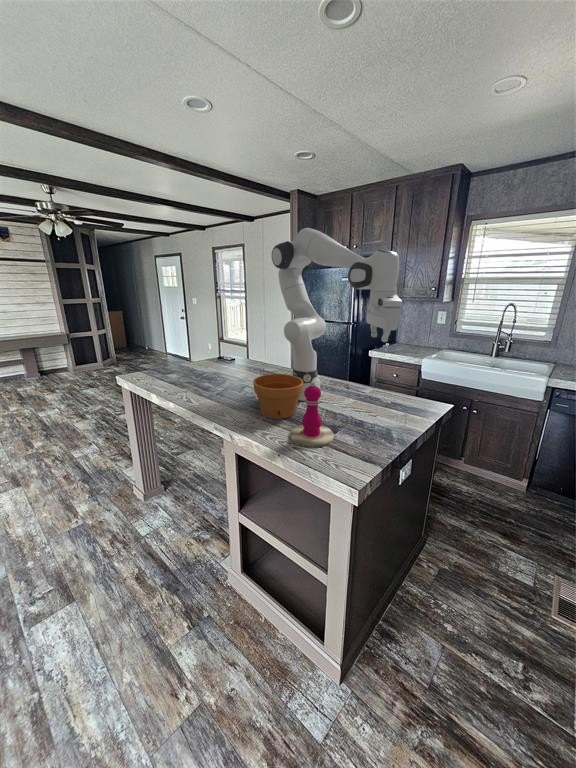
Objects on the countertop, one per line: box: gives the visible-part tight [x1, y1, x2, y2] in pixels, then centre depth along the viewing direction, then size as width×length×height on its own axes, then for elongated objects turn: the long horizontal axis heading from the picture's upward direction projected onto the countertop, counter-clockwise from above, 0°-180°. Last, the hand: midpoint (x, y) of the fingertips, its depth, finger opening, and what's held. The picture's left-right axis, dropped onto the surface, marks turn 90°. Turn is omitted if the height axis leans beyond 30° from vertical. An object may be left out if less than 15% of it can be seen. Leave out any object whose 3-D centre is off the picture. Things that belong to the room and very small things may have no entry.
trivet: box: [289, 424, 335, 448], centre depth 119 cm, size 16×16×1 cm
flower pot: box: [252, 373, 303, 420], centre depth 138 cm, size 21×21×15 cm
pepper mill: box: [301, 382, 323, 437], centre depth 116 cm, size 7×7×20 cm
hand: (379, 339), depth 116 cm, fingers open, 8 cm apart
